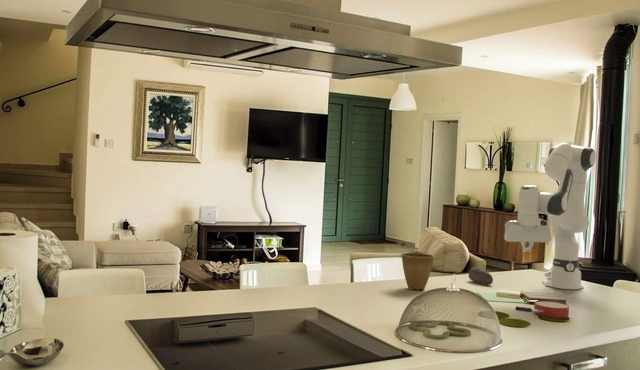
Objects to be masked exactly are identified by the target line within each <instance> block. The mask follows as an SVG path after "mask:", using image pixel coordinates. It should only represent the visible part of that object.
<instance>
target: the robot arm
mask: <svg viewBox="0 0 640 370" xmlns="http://www.w3.org/2000/svg"><path fill="white" fill-rule="evenodd" d="M547 155H548V157H547V158H546V161H545V163H544V167H543V168H544V172H545V173H546V175H547V176H548V177H549V178H550V179H552V180H554V181H557V182H559V184H558V185H559V186H558V190H557V191H555V192H541V191H539V187H538V185H536V184H525V185H522V186H521V187H520V189H519V192H518V202H517V203H518V204H517V206H518V212H517V220H508V221H506V222H505V224H504V241H506V242H507V243H508V242H509V243H510V242H511V243H520V244H521V247H522V251H523V253H531V252H532V248H533V247H534V245H535V243H550V242H551V239H552V234H551V233H552V232H553V237H554V258H553V259H552V266H551V267H550V268H549V269H548V271H545V273H544V274H545V275H544V277H545V278H546V279H544V278H543V279H542V280H541V282H542V283H543V284H544V286H545V287H551V288H556V289H563V290H581V289H584V285H582V272H581V270H580V269H579V265H580V263H579V261H580V260H579V249H580V245H579V243H578V240H577V238H576V235H575V234H580V233H583V232H585V231H586V230H587V229H588V228H589V225H590V220H589V217H588V216H587V214H586V208H585V194H586V186H587V177H588V170H589V169H591V168H592V167H593V166H594V165H595V162H596V157H597V155H596V151H595V150H594V148H592V147H589V146H580V145H572V144H570V143H568V142H560V143H558V144H557V145H553V146H552V147H550V149H549V151H548V154H547ZM539 214H542V215H544V214H545V215H549V218H548V220H546V219H543V218H540V217H539ZM549 226H551V228H552V230H551V228H550V227H549ZM551 231H552V232H551ZM527 243H528V244H529V245H528V247H526V244H527Z"/></svg>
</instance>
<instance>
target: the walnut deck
mask: <svg viewBox="0 0 640 370" xmlns="http://www.w3.org/2000/svg"><path fill="white" fill-rule="evenodd" d="M520 292H521V296H523V297H525V298H527V299H528V300H538V301H553V302H559V303H564V304H567V299H565V298H564V297H562V296H560V295H559V294H557V293H554V292H539V291H538V292H534V291H520Z"/></svg>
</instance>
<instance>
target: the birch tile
mask: <svg viewBox="0 0 640 370" xmlns="http://www.w3.org/2000/svg"><path fill="white" fill-rule="evenodd" d="M521 292H522V291H512V290H506V289H505V290H504V289H503V290H502V289H498V290H497V291H496V292H495V293H496V296H502V297H509V298H517V299H519V298H520V296H521Z"/></svg>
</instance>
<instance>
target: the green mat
mask: <svg viewBox="0 0 640 370" xmlns="http://www.w3.org/2000/svg"><path fill="white" fill-rule="evenodd" d="M476 294H478V295H479V296H480V295H481V296H482V297H483V298H482V297H481V296H480V297H481V298H482V299H483V300H485V299H486V300H487V301H486V300H485V301H486V302H496V303H497V302H499V303H513V304H514V303H516V304H528V303H527V302H524V300H523V299H524V298H523V299H521V298H519V299H517V298H509V297H502V296H496V292H481V291H477V293H476Z"/></svg>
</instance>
